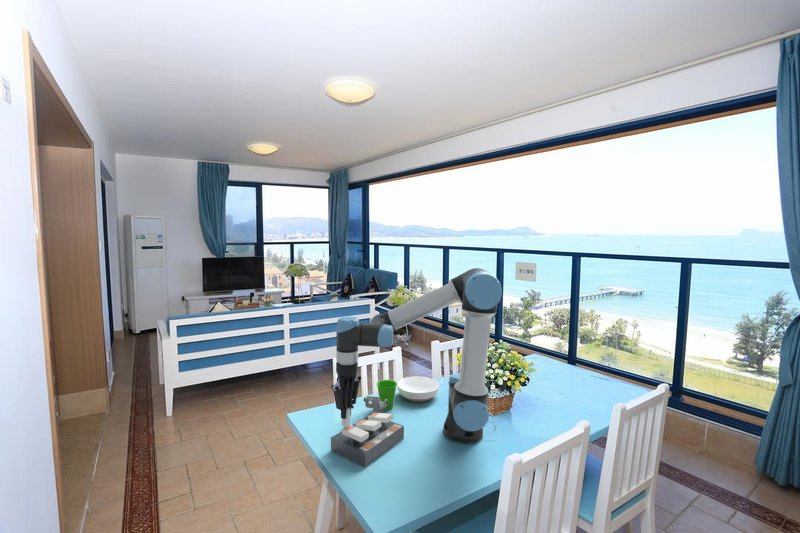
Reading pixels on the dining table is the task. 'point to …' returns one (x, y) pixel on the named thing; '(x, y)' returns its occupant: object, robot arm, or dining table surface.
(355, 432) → the block
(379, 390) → the cup
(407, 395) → the bowl
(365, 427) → the rocker
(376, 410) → the mechanical component
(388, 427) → the console
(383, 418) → the block
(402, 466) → the dining table surface
